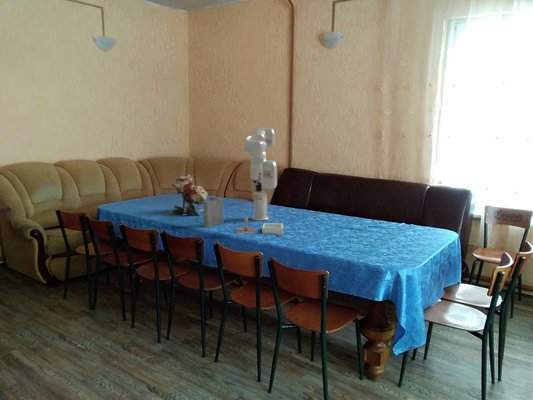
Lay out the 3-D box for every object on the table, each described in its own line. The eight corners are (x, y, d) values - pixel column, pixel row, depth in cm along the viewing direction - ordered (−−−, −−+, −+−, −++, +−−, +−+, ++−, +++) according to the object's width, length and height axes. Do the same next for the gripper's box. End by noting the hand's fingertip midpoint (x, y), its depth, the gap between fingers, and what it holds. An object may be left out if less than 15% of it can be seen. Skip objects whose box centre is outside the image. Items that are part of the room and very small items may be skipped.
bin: (264, 230, 282) (264, 223, 281) (282, 231, 281) (282, 223, 280) (262, 235, 270) (262, 227, 269) (281, 235, 269) (281, 228, 268)
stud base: (238, 230, 283) (238, 214, 281) (256, 230, 282) (256, 214, 280) (235, 234, 271) (235, 218, 270) (254, 235, 270) (254, 218, 269)
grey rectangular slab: (206, 227, 291) (205, 198, 287) (202, 226, 293) (201, 197, 290) (224, 223, 302) (223, 195, 298) (220, 222, 305) (219, 194, 301)
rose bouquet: (206, 216, 327) (205, 176, 322) (167, 216, 327) (166, 176, 322) (211, 209, 352) (210, 172, 347) (175, 209, 352) (173, 172, 347)
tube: (251, 199, 274) (251, 183, 272) (259, 198, 276) (259, 182, 274) (254, 200, 269) (254, 184, 267) (262, 199, 271) (262, 183, 269)
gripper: (246, 160, 274) (246, 189, 278) (256, 162, 259) (256, 193, 262) (257, 160, 277) (257, 188, 281) (268, 162, 262) (268, 192, 265)
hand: (257, 190), depth 271 cm, fingers closed on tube, 5 cm apart
